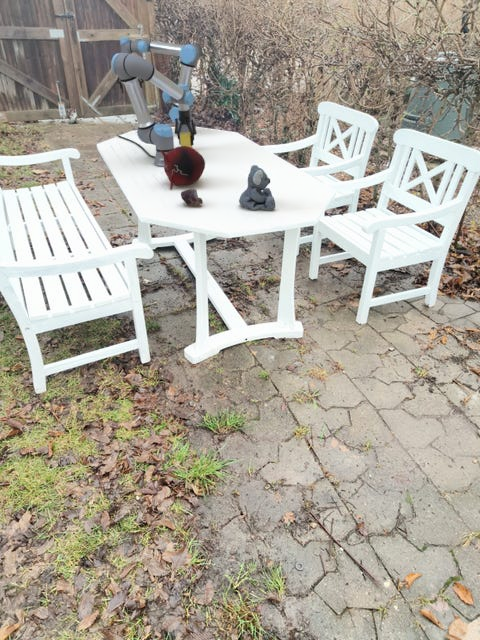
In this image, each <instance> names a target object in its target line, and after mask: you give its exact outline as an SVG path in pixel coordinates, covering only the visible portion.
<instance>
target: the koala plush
mask: <svg viewBox="0 0 480 640" xmlns="http://www.w3.org/2000/svg"><path fill="white" fill-rule="evenodd" d="M270 183H271V178H269V176H268V175H267V173H266V172H265V170H264V169H263V168H261V167H259V165H257V164H253V165H250V170H249V173H248V176H247V188H246V189H245V190H244V191H243V192H242V193H241V194H240V197H239V199H238V203H239V204H240V206H241V207H242V208H246V209H247V210H252V211H255V210H261V211H272V210H274V209H275V208H276V200H275V198H274V196H273V194H272V191H271V188H270V187H268V186H269V185H270Z"/></svg>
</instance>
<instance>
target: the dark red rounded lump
mask: <svg viewBox="0 0 480 640" xmlns="http://www.w3.org/2000/svg"><path fill="white" fill-rule="evenodd" d="M161 153H162V154H163V156H164V167H163V171H164V173H165V175H166V176H167V179H168V181H169V183H170V184H169V185H170V186H169V190H172V189H173V186H174V185H175V186H181V187H182V186H186V187H187V186H191V185H194V184H195V183H197V182H198V181H199V180H200V179H201V177H202V175H203V173H204V172H205V168H206V160H205V158H204V157H203V155H202V154H200V152H199V151H198V150H196V149H194V148H191V147H188V146H181V145H180V146H177V147H174V149H172V150H171V151H169V152H168V153H167V154H165V153H164V152H163V151H162V150H161Z"/></svg>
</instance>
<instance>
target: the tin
mask: <svg viewBox="0 0 480 640" xmlns="http://www.w3.org/2000/svg"><path fill="white" fill-rule="evenodd" d="M190 136H191V133H190V132H181V133H180V144H181V145H180V146H188V147H191V148H193V147H194V146H193V145H192V146H191V137H190ZM193 149H194V148H193Z"/></svg>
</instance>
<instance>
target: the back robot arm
mask: <svg viewBox="0 0 480 640" xmlns="http://www.w3.org/2000/svg"><path fill="white" fill-rule="evenodd" d="M119 45H120V51H121V52H120V53H129V54H146V53H155V54H162V55H169V56H175V57H179V64H180V71H179V77H178V83H177V85H179V84H186V85H187V86H188V91H189V92H190V86H191V82H192V76H193V71H194V69H196V67H197V61H199V59H200V58H201V56H202V50H201V48H200V47H199V45H197V44H196V43H183V44H180V43H172V42H165V41H157V40H149V39H141V40H140V39H139V40H131V38H130V37H120V38H119ZM138 82H139V85H140V87H141V89H143V83H144V82H145V80H143V79H141V78H138ZM116 83H117V84H118V85H119V88H120V90H121V93H122V94H125V93H124V87H123V86H124V83H122V82H121V81H120V79H119V76H117V80H116ZM189 111H190V119H193V116H192V104H191V105H189ZM168 116H169V118H170V120H171V121H172V123H175V119H176V118H179V109H178V103H172V105H171V108H170V110H169V112H168ZM189 123H190V126H191V128H192V124H191V121H190V122H189ZM194 124H195V127H196V123H194ZM179 126H180V121H178V129H179ZM192 130H193V129H192ZM181 132H190V131H189V129H188V126H187V125H185V124H184V125H183V126H182V129H181ZM181 132H180V133H181Z"/></svg>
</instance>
